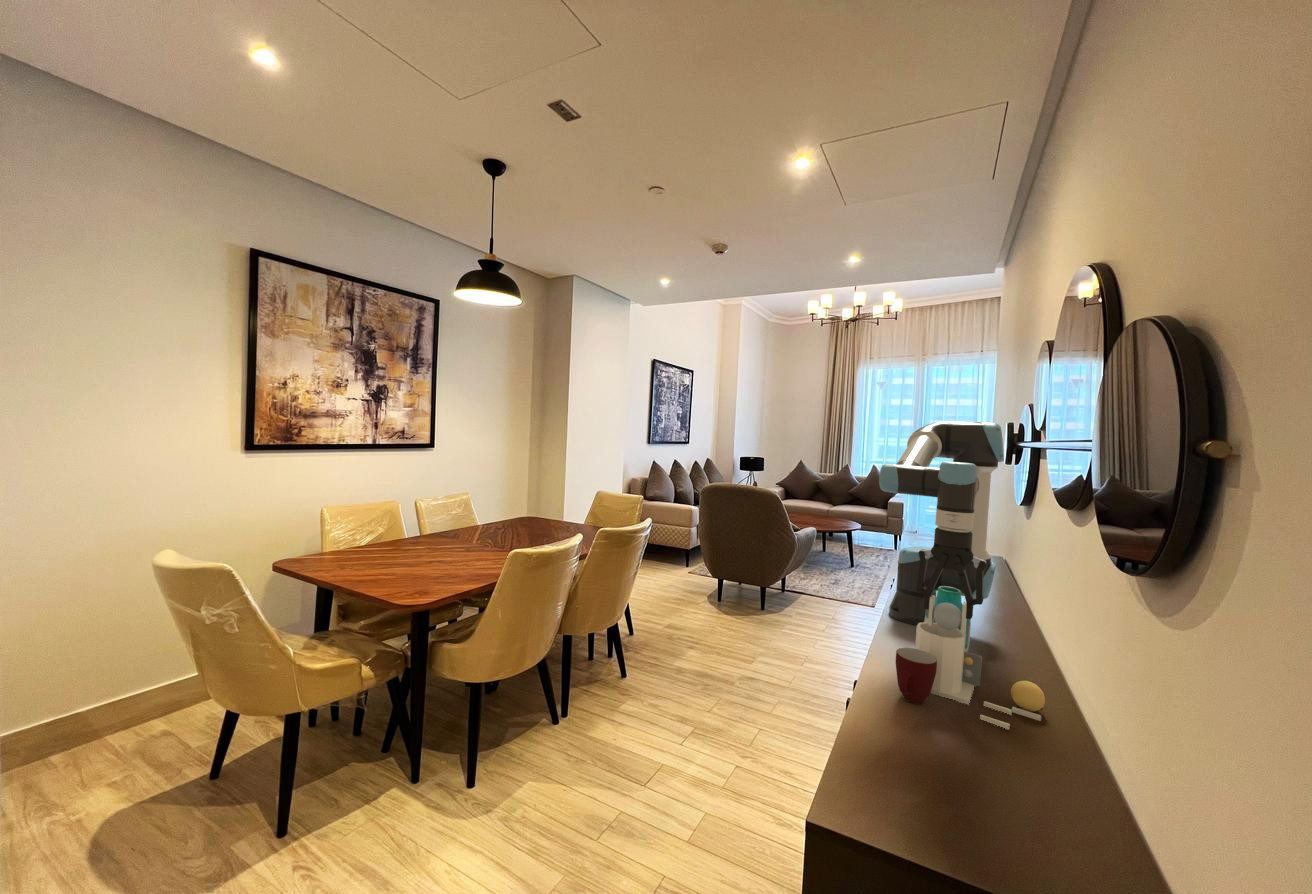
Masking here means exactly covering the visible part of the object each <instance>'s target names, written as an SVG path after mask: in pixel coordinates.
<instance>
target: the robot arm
mask: <svg viewBox="0 0 1312 894" xmlns="http://www.w3.org/2000/svg"><path fill="white" fill-rule="evenodd" d="M1003 438H1004V437H1003V430H1002V427H1001V425H1000V424H998V423H997V422H990V421H989V422H988V421H948V420H942V421H935V422H931V423H928V424H926V425H924V426H922V427H920V428H918V429H916V430H915V431H914V432H912V434H911V435H910V436H909V437H908V439H907V442H906V443H907V444H906V446H907V447H906V449H905V450H904V451H903V453H902V455H901V457H900V458H899V459H898V460H897V462H896V463H885V464H883V465H882V466H881V468H880V470H879V476H878V477H879V479H878V480H879V481H878V483H879V488H880V490H882V491H883V492H886V493H892V494H898V495H899V494H900V495H910V496H911V495H912V496H921V497H922V496H923V497H930V498H931V497H932V498H937V500H936V513H935V522H934V524H935V526H936V527H935V529H934V537H933V538H934V539H933V546H932V547H931V546H907V547H903V548H902V549H900V550H899V553H898V560H897V574H896V590H895V593H894V595H893V598H892V600H891V602H890V604H889V608H888V609H889V610H888V614H889V616H890V617H892V618H894V619H895V620H897V621H900V622H903V623H906V624H908V625H909V624H910V625H914V626H917V625H918V623H922V622H924V619H925V611H926V609H927V610H929V616H928V625H931V626H932V624H933V622H934V618H933V610H934V607H935V599H936V597H937V591H938V587H940V586H947V587H953V588H956V589H959V590H960V591H961V597H964V599H965V601H963V602H962V604H963V606H962V620H961V633H963V634H965V631H966V621H967V619H971V620H972V618H973V614H974V606H975V605H978V606H979V605H980V606H981V605H983V603H984V600H986V599H988V598H989V597H990V593H991V590H992V585H993V581H994V577H995V572H996V567H997V563H995V562H993V561H992V555H991V554H990V553H989V552H987V548H986V547H987V535H988V522H989V507H990V494H991V493H990V492H991V478H992V472H994V471H995V470H996V469H998V467H999V463H1002V462H1004V461H1005V455H1004V454H1005V453H1004V452H1005V451H1004V440H1003ZM936 458H939V459H940V458H943V459H951V460H953V461H942V462H941V463H940V464H939V467H935V466H932V467H931V466H930V465H931V463H932V461H933V459H936Z"/></svg>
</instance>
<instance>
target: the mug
mask: <svg viewBox="0 0 1312 894" xmlns="http://www.w3.org/2000/svg"><path fill="white" fill-rule="evenodd" d="M895 670H896V679H897V680H896V681H897V686H898V688H899V689H898V690H899V691H900V693H901V695H902V697H903V699H904V700H905V701H906V702H908V703H911V704H914V705H922V704H924V703H925V701H926V700H927V699H928V698H929V696H930V694H932V693H931V690H932V686H933V683H934V679H935V676H936V670H937V659H936V658H935V657H934V656H933V655H931V654H929V653H927V652H925V651H922V650H918V649H915V648H914V647H913V648H912V647H901V648H897V649H896V652H895Z"/></svg>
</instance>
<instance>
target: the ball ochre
mask: <svg viewBox="0 0 1312 894" xmlns="http://www.w3.org/2000/svg"><path fill="white" fill-rule="evenodd" d="M1010 695H1011V698H1012V700H1013V702H1014V703H1015V705H1017V706H1018V708H1020V709H1022V710H1025V711H1029V712H1037V711H1040V710H1041V709H1042V708H1043V707H1044V706H1045V704H1046V697H1045V694H1044V691H1043V690H1042V689H1041V688H1040V687H1039V686H1038V685H1037V684H1036V683H1034V682H1031V681H1028V680H1019V681H1016V682H1015V683H1014V684H1013V685H1012V687H1011V689H1010Z"/></svg>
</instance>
